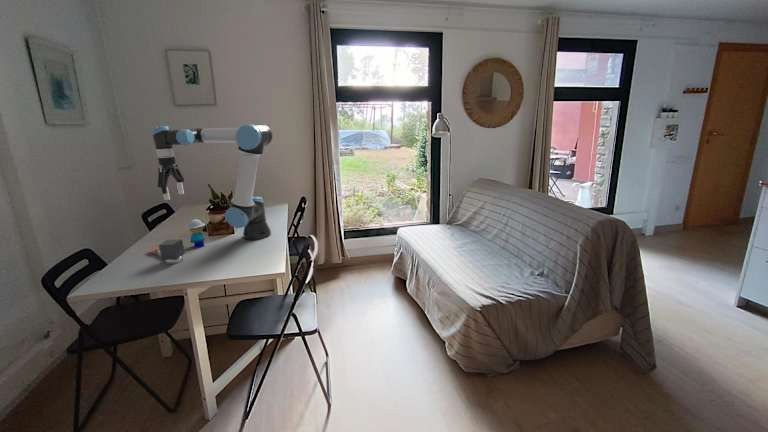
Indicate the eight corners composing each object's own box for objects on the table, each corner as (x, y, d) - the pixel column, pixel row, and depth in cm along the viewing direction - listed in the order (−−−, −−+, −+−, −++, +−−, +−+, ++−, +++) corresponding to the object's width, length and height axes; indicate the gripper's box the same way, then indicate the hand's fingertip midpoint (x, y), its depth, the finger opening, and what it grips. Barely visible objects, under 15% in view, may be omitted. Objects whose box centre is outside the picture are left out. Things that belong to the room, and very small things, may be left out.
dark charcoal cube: (184, 253, 169) (181, 239, 167) (177, 259, 162) (173, 244, 160) (170, 254, 169) (167, 239, 167) (162, 259, 162) (158, 245, 160)
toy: (212, 244, 189) (207, 217, 184) (198, 249, 181) (192, 222, 177) (201, 242, 192) (196, 216, 188) (187, 247, 185) (181, 221, 180)
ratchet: (147, 252, 179) (144, 241, 177) (162, 248, 184) (159, 237, 182) (169, 265, 162) (166, 252, 160) (185, 260, 167) (182, 248, 165)
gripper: (172, 154, 190) (180, 192, 196) (143, 160, 166) (153, 202, 172) (186, 154, 190) (193, 191, 196) (158, 159, 166) (168, 201, 172)
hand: (174, 196), depth 184 cm, fingers open, 13 cm apart
